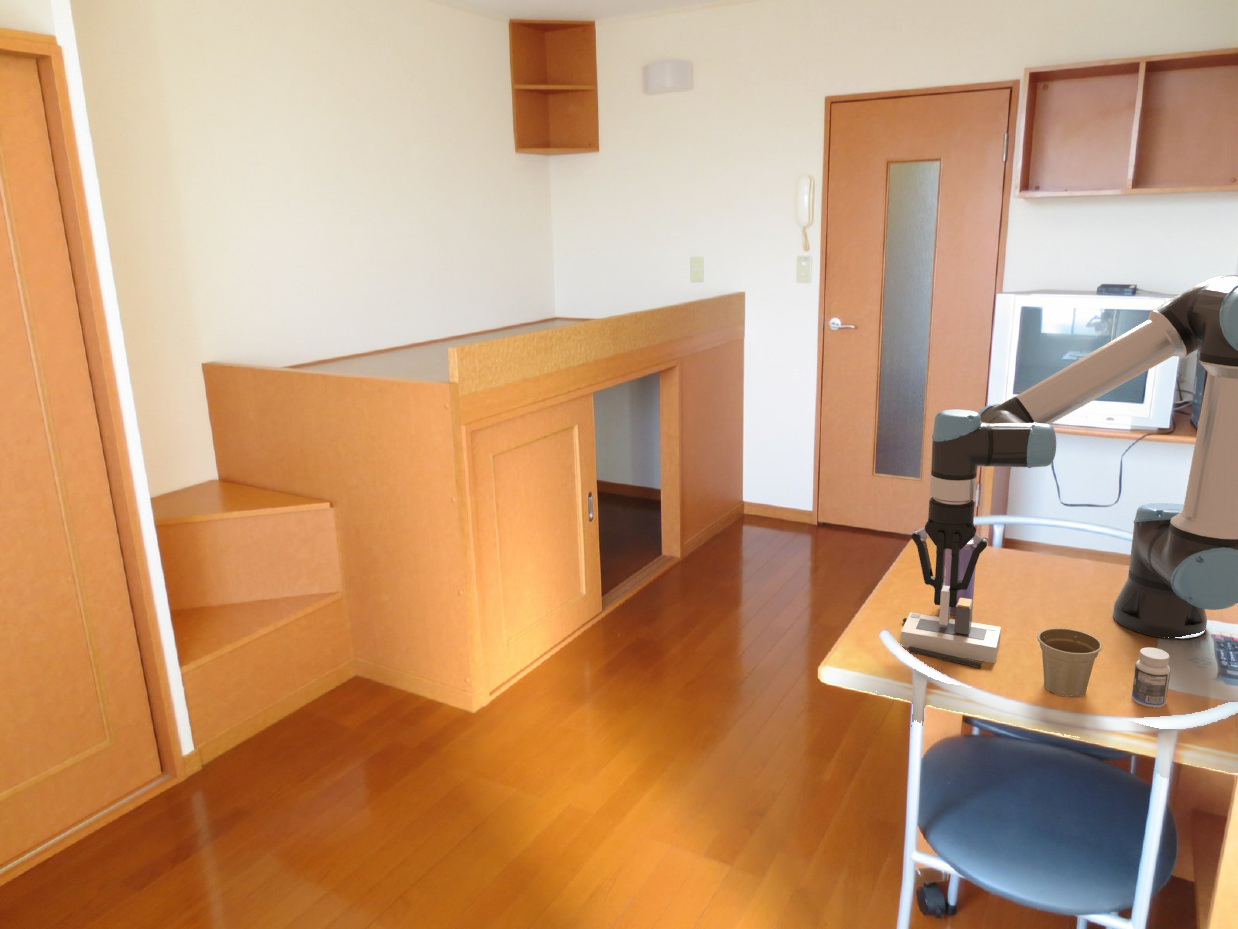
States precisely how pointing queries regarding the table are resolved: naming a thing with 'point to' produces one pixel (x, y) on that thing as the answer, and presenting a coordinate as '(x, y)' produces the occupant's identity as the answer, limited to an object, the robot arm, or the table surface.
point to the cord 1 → (945, 657)
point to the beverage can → (960, 572)
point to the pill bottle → (1151, 678)
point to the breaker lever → (963, 616)
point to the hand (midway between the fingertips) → (944, 621)
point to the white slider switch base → (951, 638)
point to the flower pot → (1067, 660)
